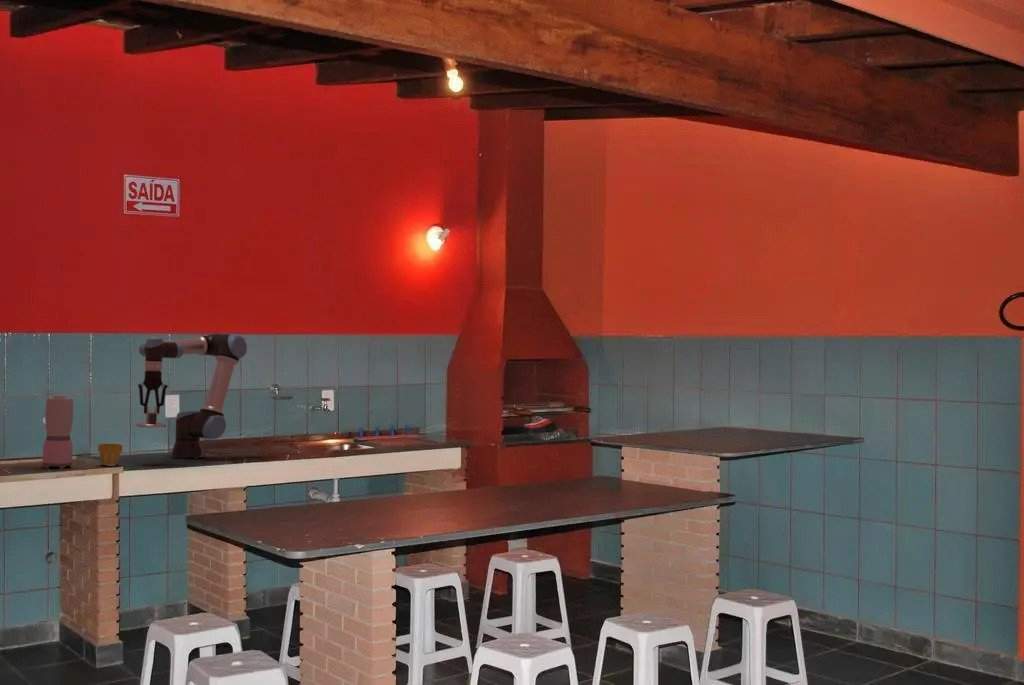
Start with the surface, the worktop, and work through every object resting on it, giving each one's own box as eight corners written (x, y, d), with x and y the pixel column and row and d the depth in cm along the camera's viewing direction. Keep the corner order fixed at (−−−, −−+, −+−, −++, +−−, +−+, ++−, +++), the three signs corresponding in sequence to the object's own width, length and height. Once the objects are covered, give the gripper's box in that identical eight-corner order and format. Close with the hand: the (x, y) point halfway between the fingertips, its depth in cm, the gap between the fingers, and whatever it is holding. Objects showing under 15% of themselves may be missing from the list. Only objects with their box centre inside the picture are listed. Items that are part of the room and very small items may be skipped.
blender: (68, 469, 475) (71, 396, 475) (38, 468, 473) (41, 395, 473) (76, 465, 490) (79, 395, 491) (48, 464, 488) (51, 394, 489)
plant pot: (125, 465, 499) (126, 444, 499) (115, 467, 488) (116, 445, 488) (104, 464, 500) (104, 443, 500) (93, 466, 489) (94, 444, 489)
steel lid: (163, 425, 513) (163, 412, 513) (167, 427, 501) (168, 414, 501) (134, 425, 507) (135, 412, 507) (138, 427, 495) (138, 413, 495)
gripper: (136, 370, 497) (134, 421, 497) (172, 371, 504) (170, 421, 504) (134, 369, 504) (132, 420, 504) (169, 370, 511) (167, 420, 511)
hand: (151, 420), depth 504 cm, fingers closed on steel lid, 3 cm apart
